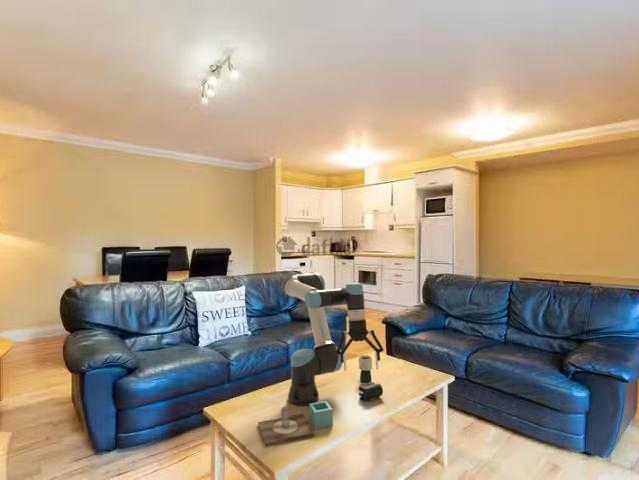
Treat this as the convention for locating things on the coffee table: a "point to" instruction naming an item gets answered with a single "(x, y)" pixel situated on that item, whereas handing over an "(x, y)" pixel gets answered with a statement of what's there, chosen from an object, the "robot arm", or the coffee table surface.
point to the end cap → (370, 391)
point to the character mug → (365, 367)
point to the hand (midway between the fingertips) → (361, 369)
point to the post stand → (285, 428)
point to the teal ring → (320, 414)
